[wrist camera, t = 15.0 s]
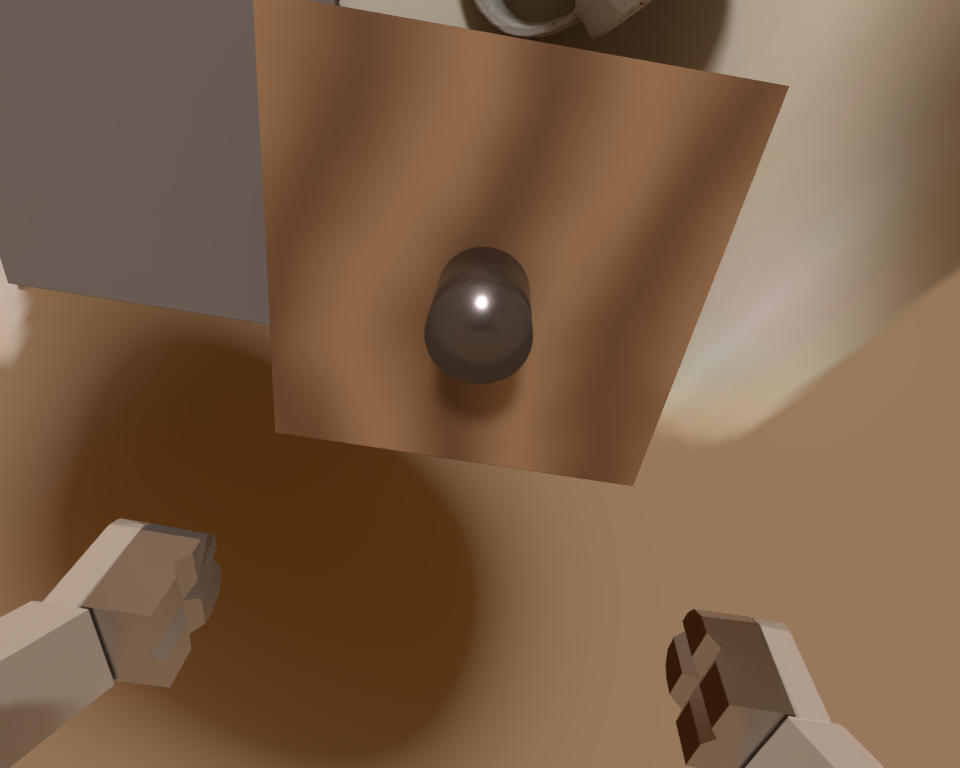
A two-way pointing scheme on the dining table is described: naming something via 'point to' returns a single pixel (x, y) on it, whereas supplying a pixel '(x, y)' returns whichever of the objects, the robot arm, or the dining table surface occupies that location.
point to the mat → (134, 152)
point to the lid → (488, 234)
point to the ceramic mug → (597, 5)
